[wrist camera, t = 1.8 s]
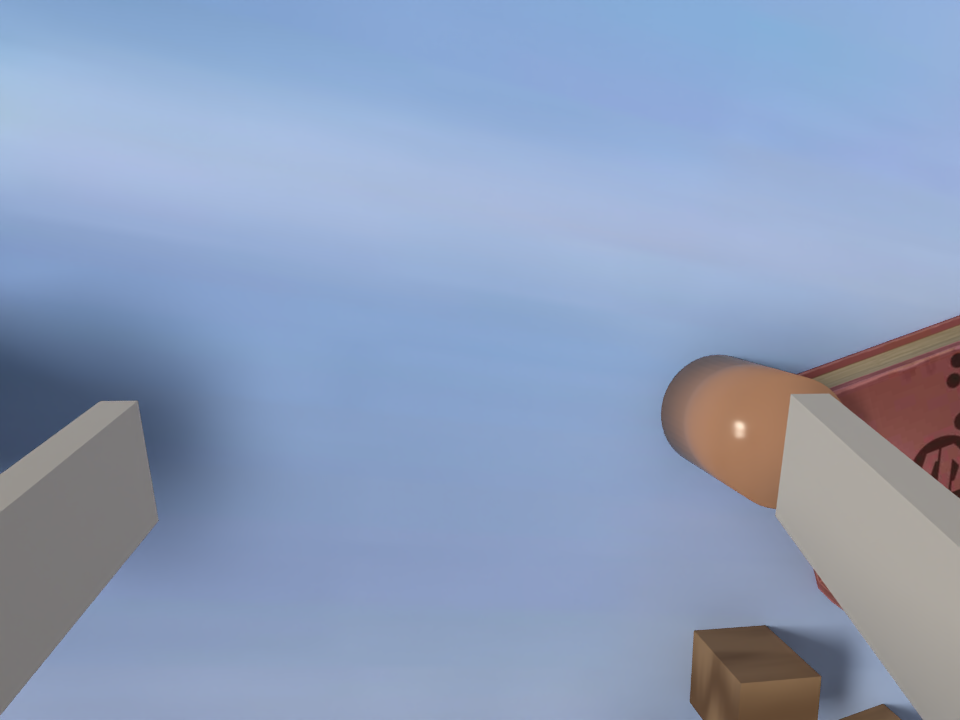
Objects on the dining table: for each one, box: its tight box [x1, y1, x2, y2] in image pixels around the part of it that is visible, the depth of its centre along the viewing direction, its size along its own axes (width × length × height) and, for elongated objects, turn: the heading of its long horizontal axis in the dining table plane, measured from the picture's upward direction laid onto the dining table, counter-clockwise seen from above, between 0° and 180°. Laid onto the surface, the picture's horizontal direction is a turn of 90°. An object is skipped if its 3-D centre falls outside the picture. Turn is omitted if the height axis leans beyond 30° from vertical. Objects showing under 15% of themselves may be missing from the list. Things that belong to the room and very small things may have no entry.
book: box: [796, 315, 960, 610], centre depth 46 cm, size 14×15×5 cm
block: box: [690, 625, 821, 720], centre depth 45 cm, size 5×5×6 cm
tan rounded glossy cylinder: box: [661, 355, 841, 509], centre depth 41 cm, size 7×7×8 cm
